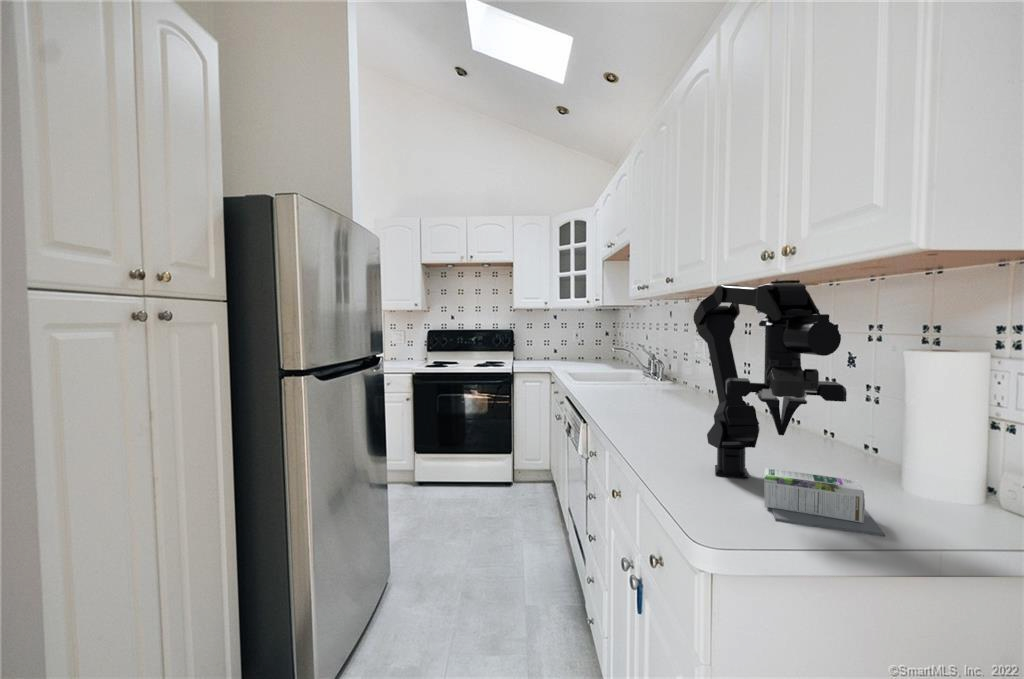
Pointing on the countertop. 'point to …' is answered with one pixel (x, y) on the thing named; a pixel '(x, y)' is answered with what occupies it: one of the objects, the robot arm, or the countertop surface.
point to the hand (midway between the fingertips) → (780, 434)
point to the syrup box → (814, 494)
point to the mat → (829, 522)
